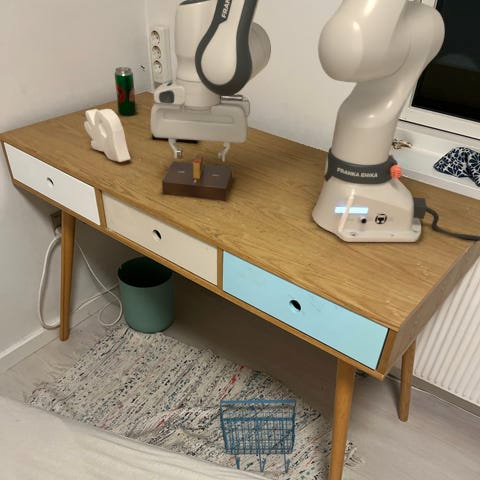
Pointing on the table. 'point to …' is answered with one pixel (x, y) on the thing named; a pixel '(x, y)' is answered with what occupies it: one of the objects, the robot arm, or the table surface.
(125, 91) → the soda can
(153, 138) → the button base
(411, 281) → the table surface
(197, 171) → the lock turn
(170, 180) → the lock plate
